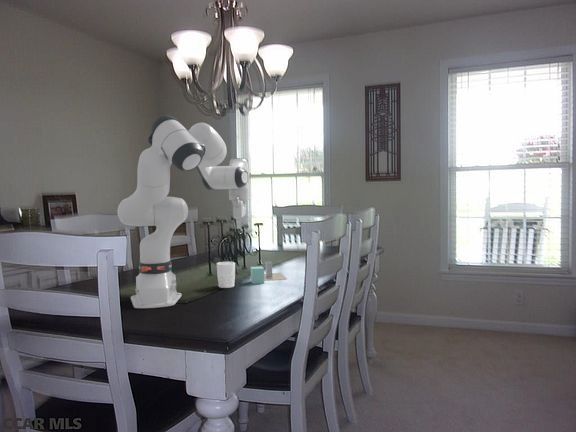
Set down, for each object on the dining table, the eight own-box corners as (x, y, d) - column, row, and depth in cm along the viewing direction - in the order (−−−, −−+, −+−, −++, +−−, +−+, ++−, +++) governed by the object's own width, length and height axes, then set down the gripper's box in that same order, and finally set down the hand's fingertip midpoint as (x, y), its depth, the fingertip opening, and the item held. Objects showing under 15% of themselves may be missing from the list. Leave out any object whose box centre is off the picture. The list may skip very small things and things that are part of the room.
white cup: (232, 288, 192) (231, 265, 191) (214, 288, 193) (213, 264, 193) (238, 284, 199) (237, 261, 199) (220, 284, 201) (220, 261, 200)
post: (287, 279, 209) (286, 263, 209) (256, 281, 206) (256, 265, 206) (280, 273, 223) (280, 259, 222) (252, 275, 220) (251, 260, 219)
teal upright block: (264, 283, 201) (264, 268, 201) (252, 284, 200) (252, 269, 200) (262, 280, 206) (262, 266, 206) (250, 281, 205) (250, 266, 205)
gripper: (244, 196, 191) (245, 229, 192) (248, 194, 211) (248, 224, 212) (229, 197, 191) (230, 230, 192) (234, 195, 211) (235, 225, 212)
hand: (240, 227), depth 202 cm, fingers open, 8 cm apart
